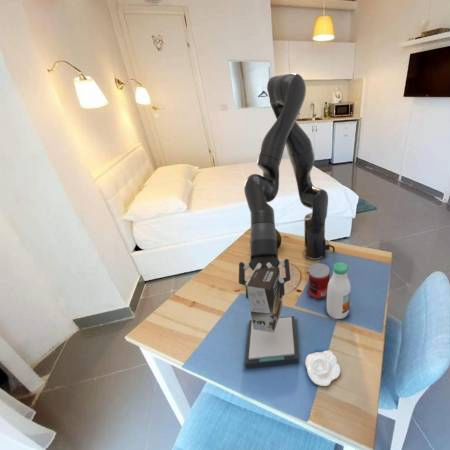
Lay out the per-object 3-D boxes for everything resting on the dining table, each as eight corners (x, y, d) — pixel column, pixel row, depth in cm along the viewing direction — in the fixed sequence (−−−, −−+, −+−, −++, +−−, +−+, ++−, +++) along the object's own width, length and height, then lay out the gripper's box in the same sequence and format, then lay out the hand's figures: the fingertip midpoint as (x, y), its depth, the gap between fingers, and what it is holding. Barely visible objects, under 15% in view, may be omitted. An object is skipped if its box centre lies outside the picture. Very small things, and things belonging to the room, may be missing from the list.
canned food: (330, 287, 99) (331, 265, 94) (326, 301, 92) (326, 278, 87) (312, 283, 101) (312, 261, 96) (306, 297, 95) (306, 274, 89)
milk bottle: (334, 323, 84) (337, 277, 74) (322, 307, 90) (323, 263, 80) (353, 314, 87) (358, 269, 77) (340, 299, 93) (343, 256, 83)
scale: (294, 320, 85) (294, 314, 84) (298, 363, 72) (298, 356, 70) (250, 325, 84) (249, 318, 82) (246, 368, 71) (244, 362, 69)
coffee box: (274, 333, 69) (270, 289, 61) (252, 329, 70) (245, 286, 62) (283, 308, 76) (280, 266, 69) (263, 305, 78) (258, 263, 70)
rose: (344, 349, 71) (337, 383, 63) (343, 358, 73) (336, 392, 65) (310, 339, 74) (299, 370, 66) (310, 349, 76) (299, 380, 68)
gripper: (236, 239, 68) (236, 301, 63) (288, 236, 69) (292, 297, 65) (240, 245, 75) (241, 301, 71) (288, 241, 76) (291, 297, 72)
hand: (265, 299), depth 68 cm, fingers closed on coffee box, 8 cm apart
